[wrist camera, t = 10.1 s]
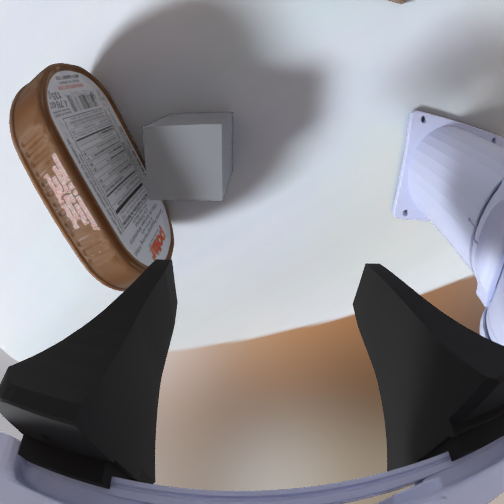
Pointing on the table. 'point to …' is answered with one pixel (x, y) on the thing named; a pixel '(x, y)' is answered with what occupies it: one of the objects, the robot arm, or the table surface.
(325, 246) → the table surface
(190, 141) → the grey block
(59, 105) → the tin
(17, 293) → the table surface
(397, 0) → the walnut board
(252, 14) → the table surface
